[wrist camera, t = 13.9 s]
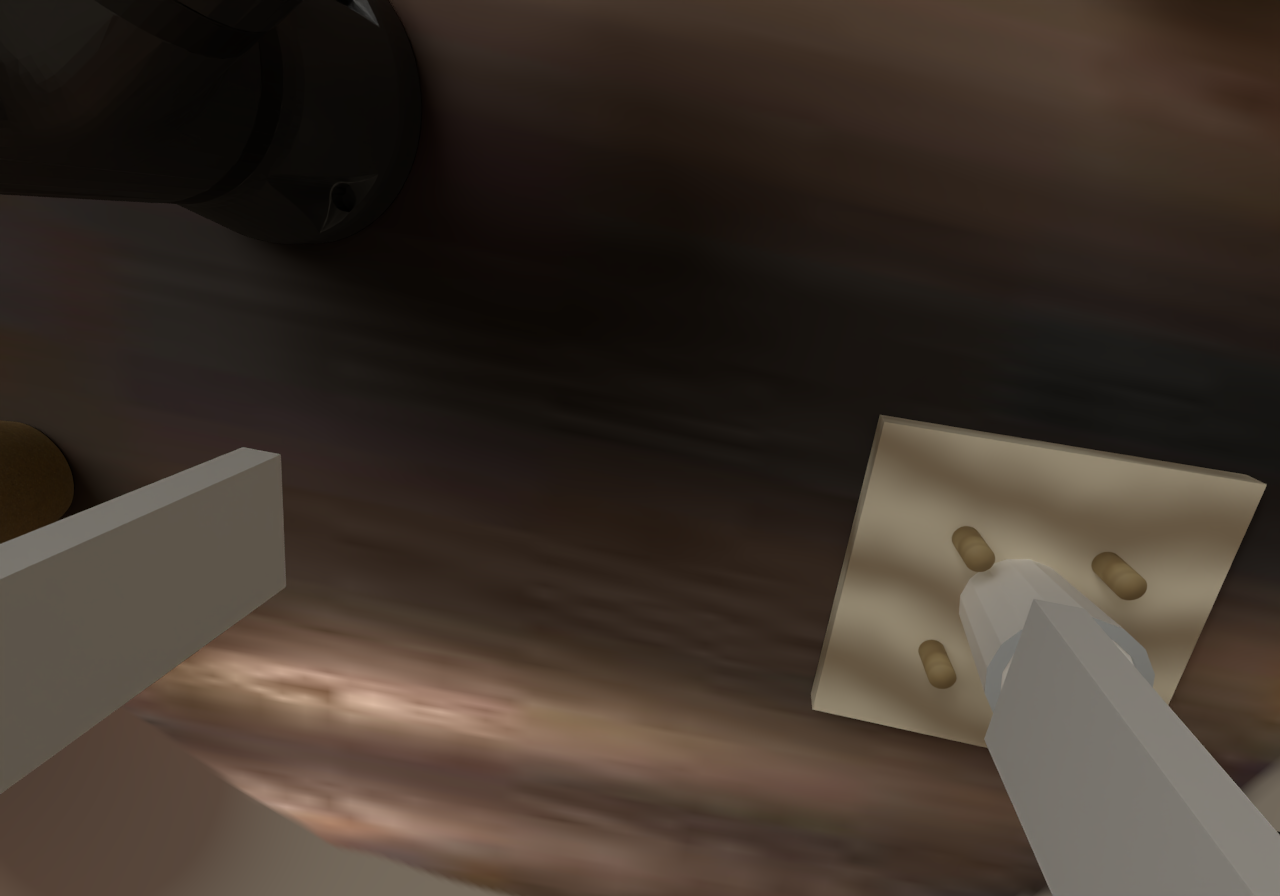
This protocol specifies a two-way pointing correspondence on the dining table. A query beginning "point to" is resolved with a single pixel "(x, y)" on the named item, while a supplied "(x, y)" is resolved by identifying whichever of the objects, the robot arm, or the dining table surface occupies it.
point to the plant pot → (31, 481)
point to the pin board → (1013, 529)
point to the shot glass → (1024, 618)
